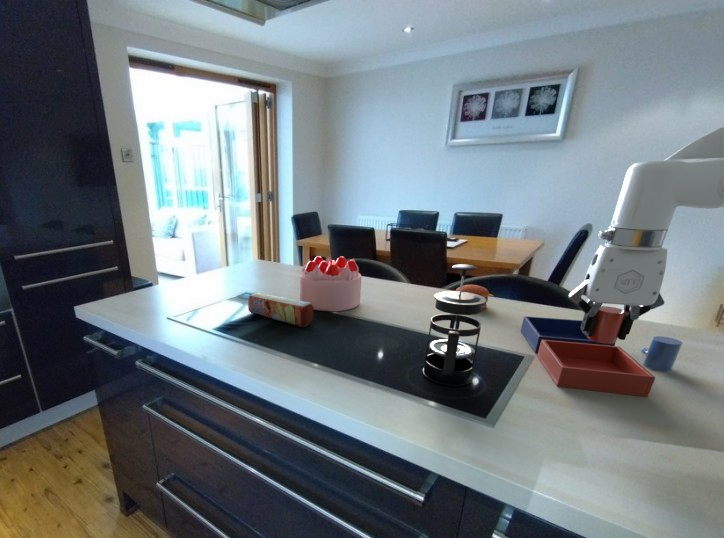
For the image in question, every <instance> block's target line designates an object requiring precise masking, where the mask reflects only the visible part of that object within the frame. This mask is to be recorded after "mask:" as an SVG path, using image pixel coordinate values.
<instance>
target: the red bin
mask: <svg viewBox="0 0 724 538" xmlns="http://www.w3.org/2000/svg"><path fill="white" fill-rule="evenodd" d="M537 358H538V360H539V361H540V363H541V364H542V365H543V367H544V369H545V370H546V372H547V373H548V375H549V376H550V378H551V380H552V381H553V382H554V384H555V385H556V387H561V388H569V389H577V390H586V391H593V392H603V393H612V394H620V395H627V396H636V397H645V398H648V397H649V394H650V392H651V389H652V387H653V385H654V382H655V380H656V376H655V375H653V374H652V373H651V372H650V371H649V370H648V369H646V368H645V366H643V365H642V364H641V363H640V362H638V361H637V360H636V359H635V358H634V357H632V356H631V355H630V354H629V353H628V352H626V351H625V350H624V349H623V348H622V347H621V346H619V345H615V346H609V345H597V344H586V343H575V342H564V341H552V340H541V343H540V347H539V351H538V353H537Z"/></svg>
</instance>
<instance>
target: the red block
mask: <svg viewBox="0 0 724 538" xmlns="http://www.w3.org/2000/svg"><path fill="white" fill-rule="evenodd" d="M625 314H626V311H624V309H622V308H618V307H615V306H608V305H607V306H606V305H601V307H600V308H599V310H598V312H597V313H596V317H597V318H598V320H597V323H596V326H595V330H594V333H593V336H591V337H587V338H588V339H590V340H592V341H595V342H599V343H605V344H613V343H615V344H616V343H617V341H618V339H619V338H618V335H619V332H620V329H621V326H622V323H623V320H624V317H625Z"/></svg>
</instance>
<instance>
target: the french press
mask: <svg viewBox="0 0 724 538" xmlns="http://www.w3.org/2000/svg"><path fill="white" fill-rule="evenodd" d="M451 268H452V269H454V270H460V277H461V280H460V286H459V287H460V291H456V290H447V291H439V292H436V293H435V294H434V295H433V298H434V300H435V305H434V306H435V308H436V310H438V311H440V312H443V313H442V314H436V315H433V316H431V318H430V323H429V331H428V338H427V346H426V353H425V360H424V367H423V368H422V375H423V377H424V378H425V379H426V380H427V381H429V382H430V383H432V384H435V385H438V386H442V387H447V388H462V387H466V386H469V385H470V384H471V383H472V381H473V370H474V365H475V359H476V355H477V349H478V344H479V339H480V333H481V328H482V323H481V321H480V320H478V319H476V318H473V317H471V316H473V315H478V314H480V313H481V312H482V311H483V310H482V305H483V304H485V303H486V299H485V298H484V297H482V296H480V295H477V294H473V293H468V292H462V286H464V280H465V277H466V276H467V273H468V271H475V270H477V269H478V267H477V266H475V265H472V264H469V263H457V264H454V265H452V266H451ZM486 304H487V303H486ZM442 321H449V327H446V326H442V325H439V324H437V323H436V322H442ZM461 323H465V324H469V325H471V326H473V327H475V328H470V329H460V325H461ZM432 330H433V331H435V332H436V333H439V334H443V335H446V336H447V339H436V340H432V341H431V334H432V333H431V332H432ZM474 336H476V340H475V346H474V347H472V345H470V344H468V343H465V342H462V341H460V337H464V338H465V337H466V338H467V337H474ZM429 351H430V352H431V353H430V354H429ZM471 357H472V360H471V359H469V358H471ZM454 370H455V371H454Z"/></svg>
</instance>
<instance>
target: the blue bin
mask: <svg viewBox="0 0 724 538" xmlns="http://www.w3.org/2000/svg"><path fill="white" fill-rule="evenodd" d="M582 320H583V319H582ZM582 320H580V319H567V318H554V317H553V318H552V317H541V316H540V317H539V316H525V315H524V316H523V319H522V322H521V327H520V333H521V334H522V336H523V337H524V339H525V340H526V341H527V343H528V345H529V346H530V348H531V349H532V351H533V352H534V353H535V354H538V351H539V347H540V343H541V340H552V341H564V342H575V343H586V344H597V345H609V346H616V343H613V344H605V343H599V342H595V341H592V340H590V339H588V338H587V336H586V335H585V334H584V333H583V332H582V330H581V324H582Z"/></svg>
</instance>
